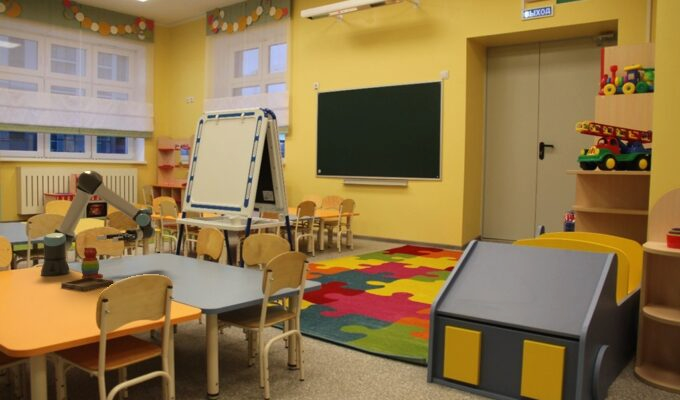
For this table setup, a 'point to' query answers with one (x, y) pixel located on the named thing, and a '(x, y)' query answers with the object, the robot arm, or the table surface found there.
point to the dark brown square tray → (86, 284)
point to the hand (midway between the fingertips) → (105, 239)
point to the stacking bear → (90, 264)
